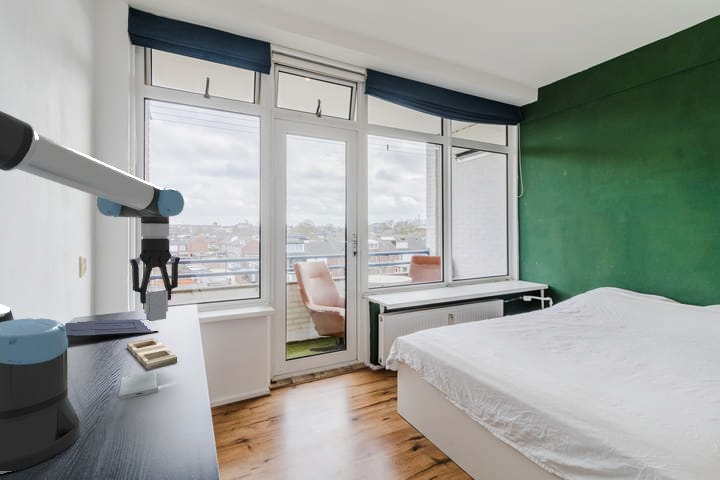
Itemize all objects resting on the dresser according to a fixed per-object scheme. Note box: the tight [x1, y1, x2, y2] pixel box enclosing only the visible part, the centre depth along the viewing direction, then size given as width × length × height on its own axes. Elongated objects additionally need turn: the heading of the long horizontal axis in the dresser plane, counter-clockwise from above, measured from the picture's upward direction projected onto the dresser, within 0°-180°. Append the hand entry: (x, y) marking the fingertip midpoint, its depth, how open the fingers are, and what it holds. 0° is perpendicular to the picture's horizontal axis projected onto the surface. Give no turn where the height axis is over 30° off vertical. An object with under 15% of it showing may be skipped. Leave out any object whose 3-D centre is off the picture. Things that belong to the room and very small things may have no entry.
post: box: [145, 288, 167, 322], centre depth 104 cm, size 4×4×9 cm
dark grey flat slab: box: [64, 319, 155, 337], centre depth 135 cm, size 24×30×4 cm
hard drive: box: [118, 370, 159, 401], centre depth 88 cm, size 2×8×12 cm
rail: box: [126, 337, 178, 370], centre depth 109 cm, size 26×8×2 cm, turn 46°
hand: (156, 312), depth 104 cm, fingers closed on post, 4 cm apart
